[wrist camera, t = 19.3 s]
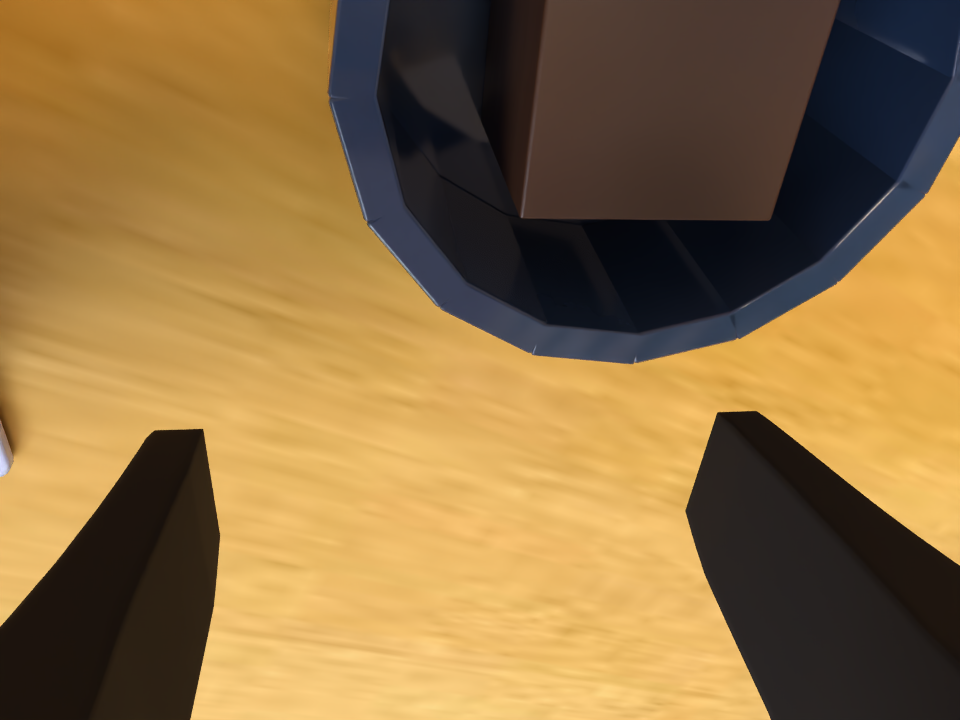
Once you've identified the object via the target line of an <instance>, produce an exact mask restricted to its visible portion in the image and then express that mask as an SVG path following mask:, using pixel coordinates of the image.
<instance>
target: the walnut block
mask: <svg viewBox="0 0 960 720" xmlns="http://www.w3.org/2000/svg"><path fill="white" fill-rule="evenodd" d="M840 1H841V0H491V7H490V19H489V31H488V43H487V55H486V68H485V80H484V92H483V104H482V116H481V122H482V125H483V128H484V130H485V133H486V135H487V137H488V140H489V142H490V145H491V147H492V150H493V152H494V155H495V157H496V160H497V162H498V165H499V167H500V170H501V172H502V175H503V177H504V180H505V182H506V184H507V187H508V189H509V192H510V194H511V197H512V199H513V202H514V204H515V207H516V209H517V212H518V214H519V217H520V218H523V219H621V220H737V221H768V220H770V219H771V217H772V214H773V211H774V208H775V205H776V202H777V198H778V195H779V192H780V189H781V186H782V183H783V180H784V176H785V173H786V170H787V167H788V164H789V161H790V158H791V154H792V151H793V148H794V145H795V142H796V139H797V136H798V133H799V129H800V126H801V123H802V120H803V117H804V114H805V111H806V107H807V104H808V101H809V98H810V95H811V92H812V89H813V85H814V82H815V79H816V76H817V73H818V70H819V67H820V63H821V60H822V57H823V54H824V51H825V48H826V45H827V42H828V38H829V35H830V32H831V29H832V26H833V23H834V20H835V16H836V13H837V10H838V7H839V4H840Z"/></svg>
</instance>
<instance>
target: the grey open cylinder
mask: <svg viewBox="0 0 960 720" xmlns="http://www.w3.org/2000/svg"><path fill="white" fill-rule="evenodd" d="M490 7H491V0H331V6H330V16H329V55H328V96H329V106H330V109H331V112H332V115H333V119H334V122H335V125H336V129H337V132H338V135H339V139H340V142H341V145H342V149H343V152H344V155H345V159H346V162H347V165H348V168H349V172H350V175H351V178H352V182H353V185H354V188H355V192H356V195H357V198H358V202H359V205H360V208H361V212H362V215H363V218H364V219H365V221H367V225H368V227H369V228H370V229H371V230H372V231H373V232H374V234H375V235H376V236H377V237H378V238H379V240H380V241H381V242H382V243H383V244H384V245H385V247H386V248H387V249H388V250H389V251H390V252H391V254H392V255H393V256H394V257H395V258H396V259H397V261H398V262H399V263H400V264H401V265H402V267H403V268H404V269H405V270H406V271H407V272H408V274H409V275H410V276H411V277H412V278H413V279H414V281H415V282H416V283H417V284H418V285H419V286H420V288H421V289H422V290H423V291H424V292H425V293H426V295H427V296H428V297H429V298H430V299H431V301H432V302H433V303H434V304H435V305H436V306H438V307H440V308H441V310H443V311H445V312H447V313H449V314H451V315H453V316H455V317H457V318H459V319H461V320H463V321H465V322H467V323H469V324H471V325H473V326H475V327H477V328H479V329H481V330H483V331H485V332H487V333H489V334H492V335H494V336H496V337H498V338H500V339H502V340H504V341H506V342H508V343H510V344H512V345H514V346H516V347H518V348H520V349H522V350H524V351H526V352H528V353H531V354H532V355H536V356H547V357H558V358H569V359H580V360H591V361H602V362H613V363H624V364H633V363H634V362H635V363H639V362H644V361H648V360H652V359H656V358H661V357H665V356H669V355H673V354H678V353H682V352H686V351H691V350H695V349H699V348H703V347H708V346H712V345H716V344H720V343H725V342H729V341H733V340H736V339H737V338H738V339H740V338H742V337H744V336H746V335H748V334H749V333H751V332H753V331H755V330H756V329H758V328H760V327H762V326H763V325H765V324H767V323H769V322H771V321H772V320H774V319H776V318H778V317H779V316H781V315H783V314H785V313H786V312H788V311H790V310H792V309H793V308H795V307H797V306H799V305H800V304H802V303H804V302H806V301H808V300H809V299H811V298H813V297H815V296H816V295H818V294H820V293H822V292H823V291H825V290H827V289H829V288H830V287H832V286H834V285H836V284H837V281H838V282H839V281H841V280H842V279H843V278H844V277H845V276H846V275H847V274H848V273H849V272H850V271H851V270H852V269H853V268H854V267H855V266H856V265H857V264H858V263H859V262H860V261H861V260H862V259H863V258H864V257H865V256H866V255H867V254H868V253H869V252H870V251H871V250H872V249H873V248H874V247H875V246H876V245H877V244H878V243H879V242H880V241H881V240H882V239H883V238H884V237H885V236H886V235H887V234H888V233H889V232H890V231H891V230H892V229H893V228H894V227H895V226H896V225H897V224H898V223H899V222H900V221H901V220H902V219H903V218H904V217H905V216H906V215H907V214H908V213H909V212H910V211H911V210H912V209H913V208H914V207H915V206H916V205H917V204H918V203H919V202H920V201H921V200H922V199H923V198H924V197H925V194H927V193H928V192H929V190H930V188H931V186H932V185H933V183H934V181H935V179H936V178H937V176H938V174H939V172H940V170H941V169H942V167H943V165H944V163H945V162H946V160H947V158H948V156H949V154H950V153H951V151H952V149H953V147H954V146H955V144H956V142H957V140H958V138H959V137H960V0H841V1H840V4H839V7H838V10H837V13H836V16H835V20H834V23H833V26H832V29H831V32H830V35H829V38H828V42H827V45H826V48H825V51H824V54H823V57H822V60H821V63H820V67H819V70H818V73H817V76H816V79H815V82H814V85H813V89H812V92H811V95H810V98H809V101H808V104H807V107H806V111H805V114H804V117H803V120H802V123H801V126H800V129H799V133H798V136H797V139H796V142H795V145H794V148H793V151H792V154H791V158H790V161H789V164H788V167H787V170H786V173H785V176H784V180H783V183H782V186H781V189H780V192H779V195H778V198H777V202H776V205H775V208H774V211H773V214H772V217H771V219H770V220H768V221H737V220H621V219H523V218H520V217H519V214H518V212H517V209H516V207H515V204H514V202H513V199H512V197H511V194H510V192H509V189H508V187H507V184H506V182H505V180H504V177H503V175H502V172H501V170H500V167H499V165H498V162H497V160H496V157H495V155H494V152H493V150H492V147H491V145H490V142H489V140H488V137H487V135H486V133H485V130H484V128H483V125H482V122H481V116H482V104H483V92H484V80H485V68H486V55H487V43H488V31H489V19H490Z"/></svg>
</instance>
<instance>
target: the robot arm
mask: <svg viewBox="0 0 960 720" xmlns="http://www.w3.org/2000/svg"><path fill="white" fill-rule="evenodd" d="M13 462H14V460H13V454H12V451H11V449H10V446H9V443H8V440H7V437H6V434H5V431H4V429H3V426H2V423H1V420H0V477H1V476H4V475H5V474H7V473H8V472H9V470H10V468H11V466H12V464H13ZM686 515H687V518H688V522H689V525H690V529H691V532H692V535H693V539H694V542H695V546H696V549H697V552H698V555H699V558H700V561H701V564H702V567H703V570H704V573H705V576H706V578H707V580H708V583H709V585H710V587H711V589H712V592H713V594H714V596H715V598H716V601H717V603H718V605H719V607H720V609H721V612H722V614H723V616H724V618H725V620H726V623H727V625H728V627H729V629H730V631H731V633H732V636H733V638H734V640H735V642H736V644H737V646H738V648H739V651H740V653H741V655H742V657H743V659H744V661H745V663H746V666H747V668H748V670H749V672H750V674H751V676H752V679H753V681H754V683H755V685H756V687H757V689H758V692H759V694H760V696H761V698H762V700H763V702H764V704H765V707H766V709H767V711H768V713H769V716H770V718H771V720H960V566H959V565H958V564H956V563H955V562H954V561H952V560H951V559H949V558H948V557H947V556H945V555H944V554H942V553H941V552H940V551H938V550H937V549H935V548H934V547H932V546H931V545H930V544H928V543H927V542H925V541H924V540H923V539H921V538H920V537H918V536H917V535H916V534H914V533H913V532H911V531H910V530H909V529H907V528H906V527H905V526H903V525H902V524H901V523H899V522H898V521H897V520H895V519H894V518H893V517H891V516H890V515H889V514H887V513H886V512H885V511H883V510H882V509H881V508H880V507H878V506H877V505H876V504H874V503H873V502H872V501H870V500H869V499H868V498H867V497H865V496H864V495H863V494H862V493H860V492H859V491H858V490H856V489H855V488H854V487H853V486H851V485H850V484H849V483H848V482H846V481H845V480H844V479H843V478H841V477H840V476H839V475H838V474H836V473H835V472H834V471H833V470H831V469H830V468H829V467H828V466H826V465H825V464H824V463H823V462H821V461H820V460H819V459H818V458H816V457H815V456H814V455H813V454H811V453H810V452H809V451H808V450H806V449H805V448H804V447H803V446H802V445H800V444H799V443H798V442H797V441H795V440H794V439H793V438H792V437H790V436H789V435H788V434H786V433H785V432H784V431H783V430H781V429H780V428H779V427H778V426H776V425H775V424H774V423H772V422H771V421H770V420H768V419H767V418H766V417H764V416H763V415H761V414H760V413H759V412H757V411H745V412H718V413H717V416H716V419H715V422H714V425H713V428H712V431H711V434H710V437H709V440H708V443H707V446H706V449H705V453H704V456H703V459H702V462H701V465H700V468H699V471H698V474H697V477H696V480H695V483H694V486H693V489H692V492H691V495H690V498H689V502H688V505H687V508H686ZM219 542H220V532H219V526H218V520H217V513H216V507H215V501H214V495H213V488H212V482H211V476H210V469H209V463H208V457H207V451H206V444H205V438H204V432H203V429H187V430H156V431H154V432H152V433H151V434H150V435H149V436H148V437H147V438H146V439H145V441H144V443H143V444H142V446H141V447H140V449H139V450H138V452H137V453H136V455H135V456H134V458H133V459H132V461H131V462H130V464H129V465H128V467H127V468H126V469H125V471H124V472H123V474H122V475H121V477H120V478H119V479H118V481H117V482H116V484H115V485H114V487H113V488H112V489H111V491H110V492H109V493H108V495H107V496H106V498H105V499H104V500H103V502H102V503H101V505H100V506H99V507H98V509H97V510H96V511H95V513H94V514H93V515H92V517H91V518H90V519H89V520H88V522H87V523H86V524H85V526H84V527H83V528H82V530H81V531H80V532H79V533H78V535H77V536H76V537H75V539H74V540H73V541H72V542H71V544H70V545H69V546H68V548H67V549H66V550H65V551H64V553H63V554H62V555H61V557H60V558H59V559H58V560H57V562H56V563H55V564H54V565H53V566H52V568H51V569H50V570H49V571H48V572H47V573H46V575H45V576H44V577H43V578H42V579H41V580H40V582H39V583H38V584H37V585H36V586H35V587H34V589H33V590H32V591H31V592H30V593H29V594H28V596H27V597H26V598H25V599H24V600H23V601H22V603H21V604H20V605H19V606H18V607H17V608H16V610H15V611H14V612H13V613H12V614H11V615H10V617H9V618H8V619H7V620H6V621H5V622H4V623H3V624H2V625H1V627H0V720H190V718H191V713H192V709H193V704H194V699H195V694H196V690H197V685H198V680H199V676H200V671H201V666H202V661H203V656H204V652H205V647H206V642H207V637H208V632H209V627H210V622H211V617H212V612H213V607H214V598H215V588H216V578H217V566H218V554H219Z"/></svg>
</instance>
